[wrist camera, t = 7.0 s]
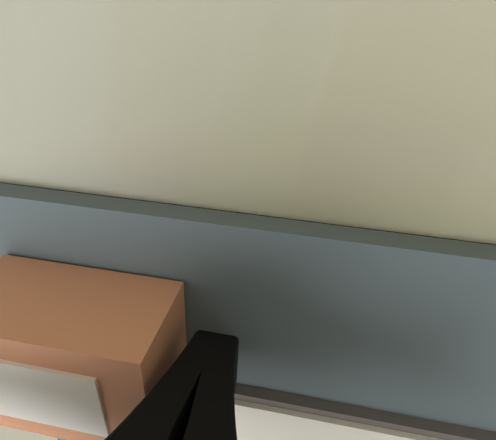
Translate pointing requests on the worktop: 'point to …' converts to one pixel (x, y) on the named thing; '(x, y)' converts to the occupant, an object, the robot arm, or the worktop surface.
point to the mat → (296, 296)
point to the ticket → (332, 420)
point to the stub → (82, 345)
